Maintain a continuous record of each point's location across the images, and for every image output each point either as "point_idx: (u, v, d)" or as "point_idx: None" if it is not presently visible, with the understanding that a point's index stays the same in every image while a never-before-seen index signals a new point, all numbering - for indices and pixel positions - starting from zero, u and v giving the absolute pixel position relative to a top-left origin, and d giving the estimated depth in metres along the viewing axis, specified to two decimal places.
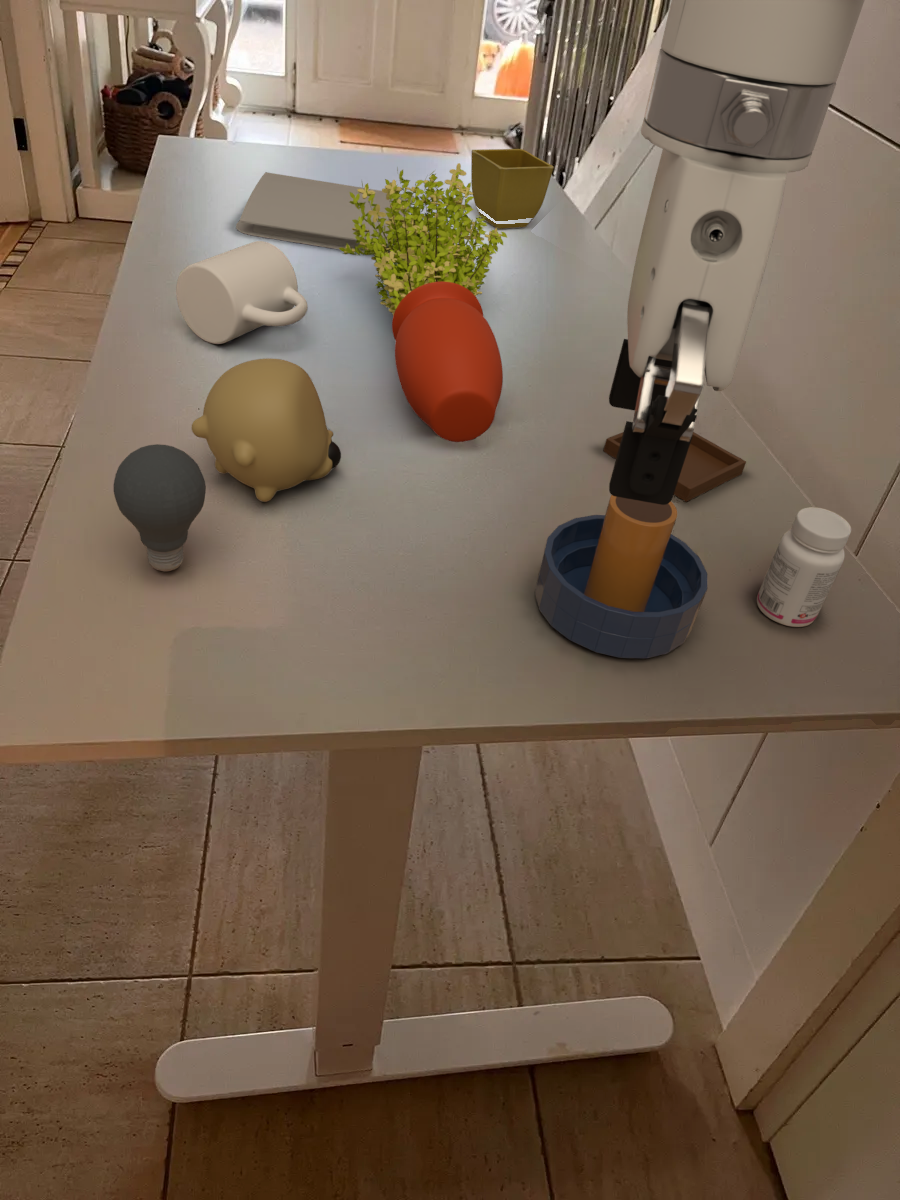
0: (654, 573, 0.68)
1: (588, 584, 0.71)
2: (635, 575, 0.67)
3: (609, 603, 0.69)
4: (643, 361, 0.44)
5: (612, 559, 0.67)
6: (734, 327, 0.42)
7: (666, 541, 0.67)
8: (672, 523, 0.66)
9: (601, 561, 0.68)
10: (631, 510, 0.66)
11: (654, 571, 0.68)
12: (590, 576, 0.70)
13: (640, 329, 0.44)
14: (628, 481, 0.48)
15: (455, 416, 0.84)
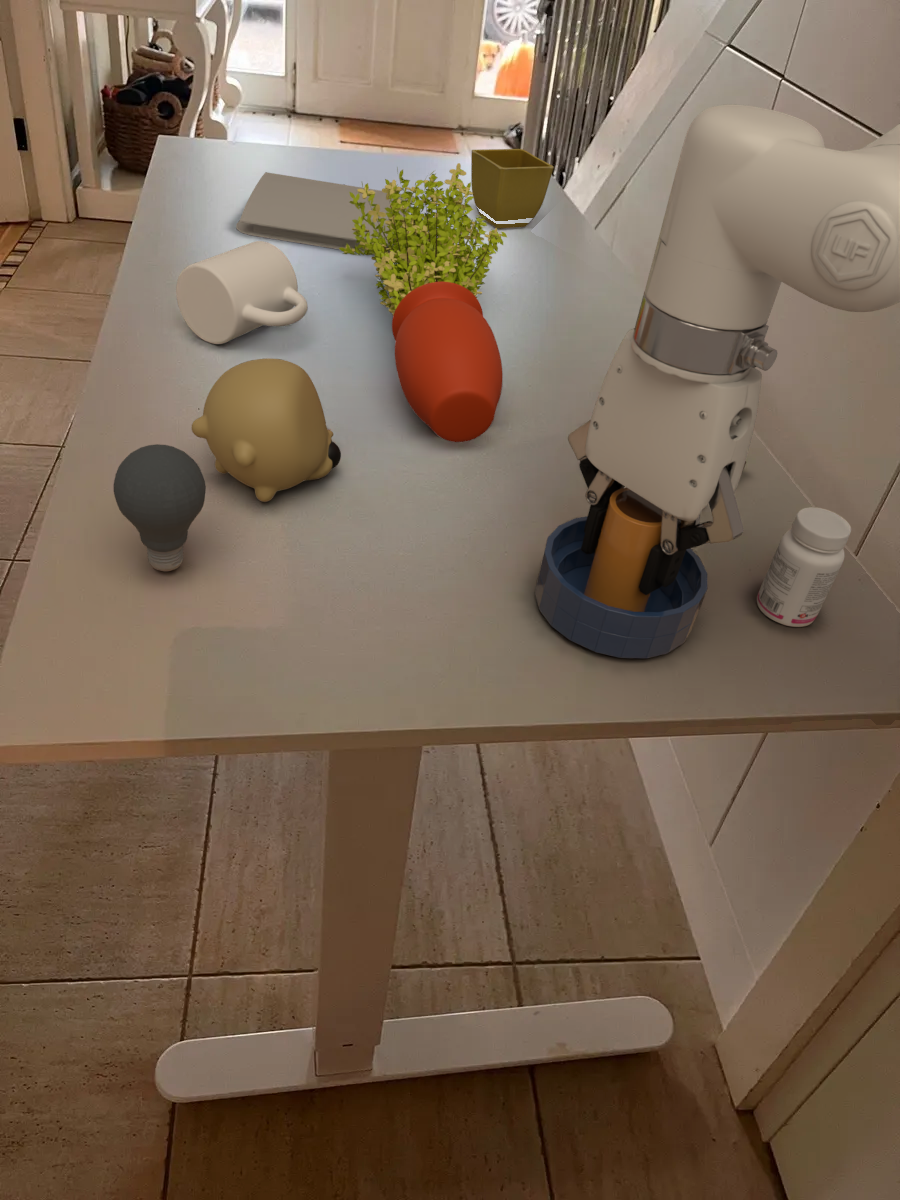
0: None
1: (588, 584, 0.71)
2: (635, 575, 0.67)
3: (609, 603, 0.69)
4: (699, 512, 0.61)
5: (612, 559, 0.67)
6: (742, 467, 0.62)
7: None
8: None
9: (601, 561, 0.68)
10: (631, 510, 0.66)
11: None
12: (590, 576, 0.70)
13: (694, 494, 0.60)
14: (654, 581, 0.67)
15: (455, 416, 0.84)
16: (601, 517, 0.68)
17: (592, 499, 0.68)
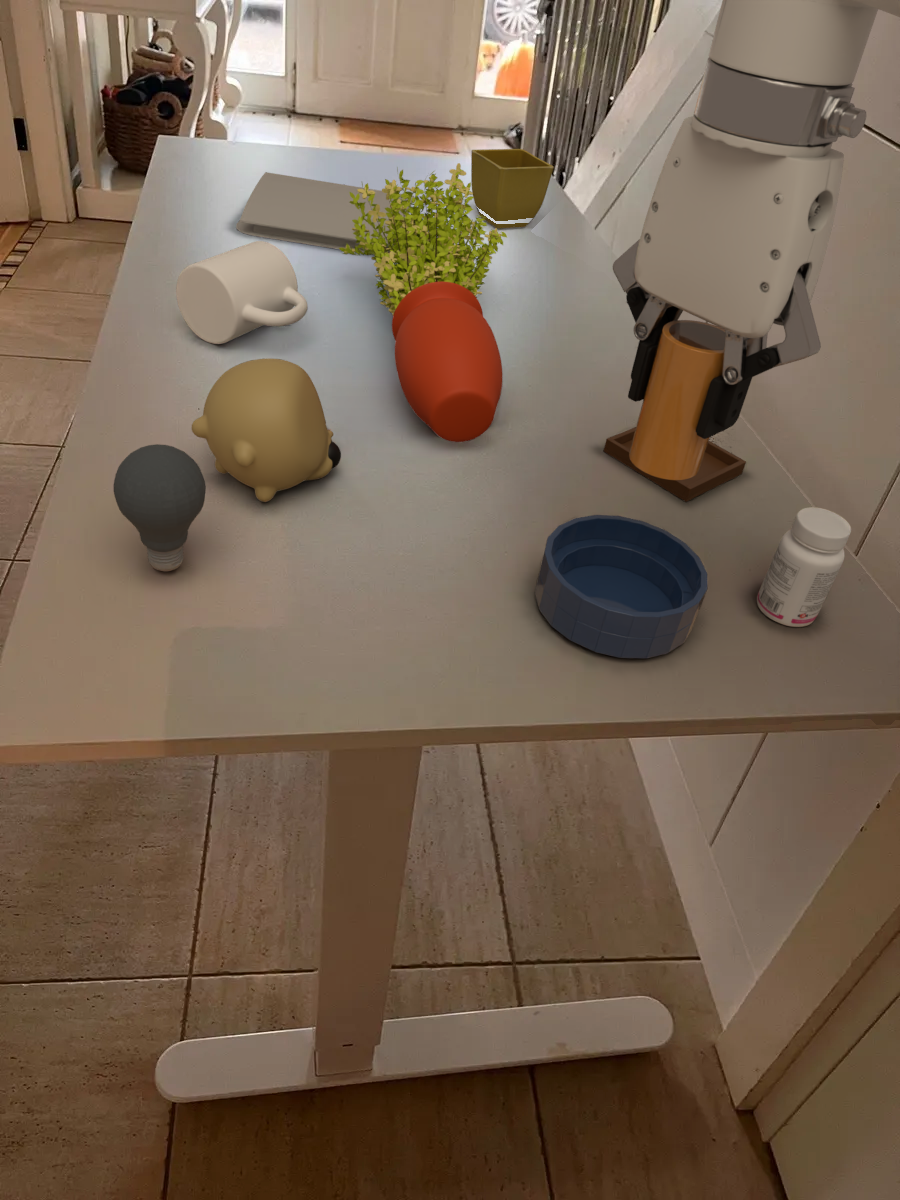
0: None
1: (636, 436, 0.63)
2: (691, 417, 0.60)
3: (662, 454, 0.62)
4: (770, 324, 0.53)
5: (665, 399, 0.60)
6: (817, 273, 0.54)
7: None
8: None
9: (652, 403, 0.61)
10: (687, 339, 0.58)
11: None
12: (639, 426, 0.63)
13: (766, 301, 0.53)
14: (713, 423, 0.60)
15: (455, 416, 0.84)
16: (652, 354, 0.61)
17: (641, 334, 0.60)
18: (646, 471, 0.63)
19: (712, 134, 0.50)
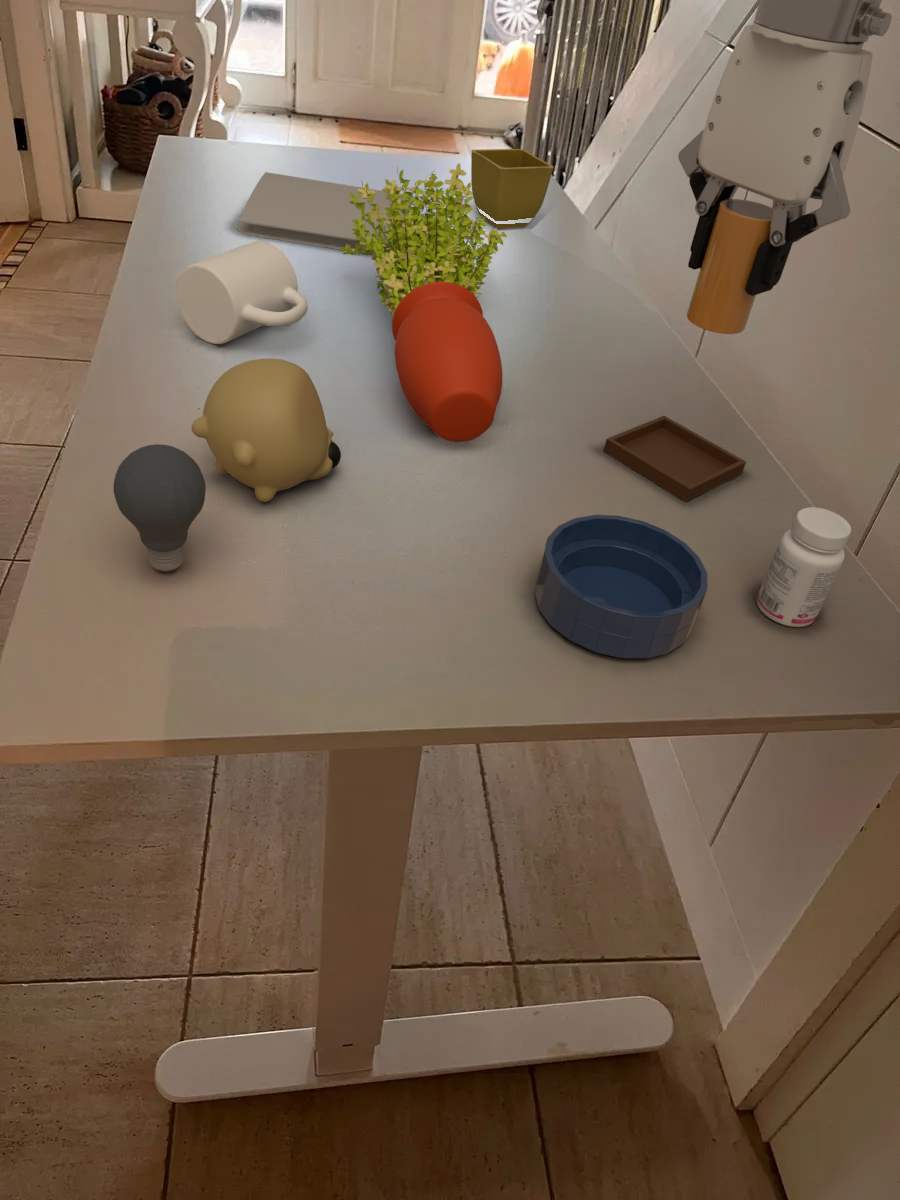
0: None
1: (694, 298, 0.77)
2: (742, 277, 0.73)
3: (716, 311, 0.75)
4: (810, 192, 0.67)
5: (721, 262, 0.73)
6: (848, 153, 0.68)
7: None
8: None
9: (710, 267, 0.74)
10: (740, 210, 0.72)
11: None
12: (697, 289, 0.76)
13: (808, 171, 0.66)
14: (760, 282, 0.73)
15: (455, 416, 0.84)
16: (710, 227, 0.74)
17: (701, 210, 0.74)
18: (702, 326, 0.77)
19: (770, 34, 0.63)
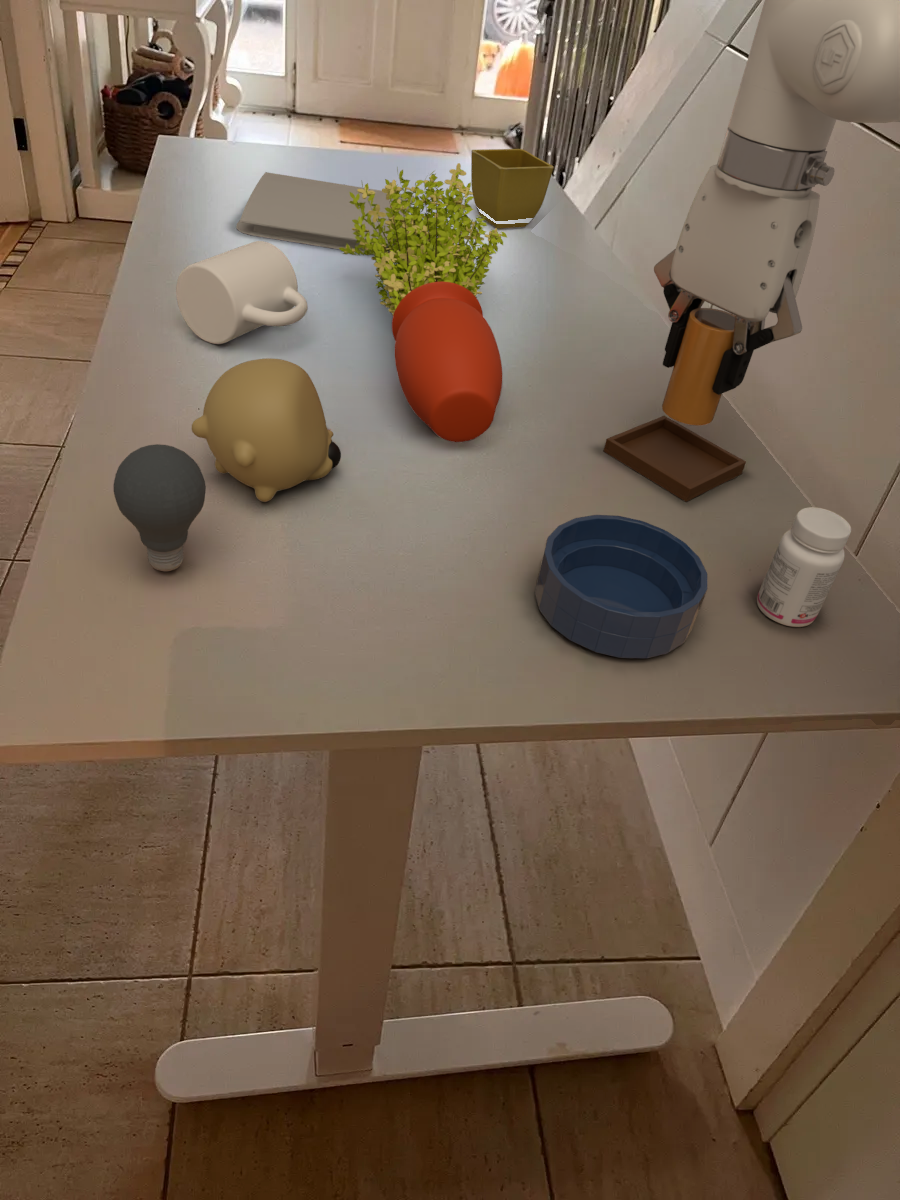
0: None
1: (668, 392, 0.86)
2: (709, 378, 0.83)
3: (687, 406, 0.85)
4: (767, 312, 0.76)
5: (691, 365, 0.83)
6: (801, 277, 0.77)
7: None
8: None
9: (681, 368, 0.84)
10: (708, 321, 0.81)
11: None
12: (670, 385, 0.86)
13: (764, 295, 0.76)
14: (725, 383, 0.83)
15: (454, 416, 0.84)
16: (681, 333, 0.84)
17: (674, 317, 0.83)
18: (675, 418, 0.86)
19: (729, 180, 0.73)
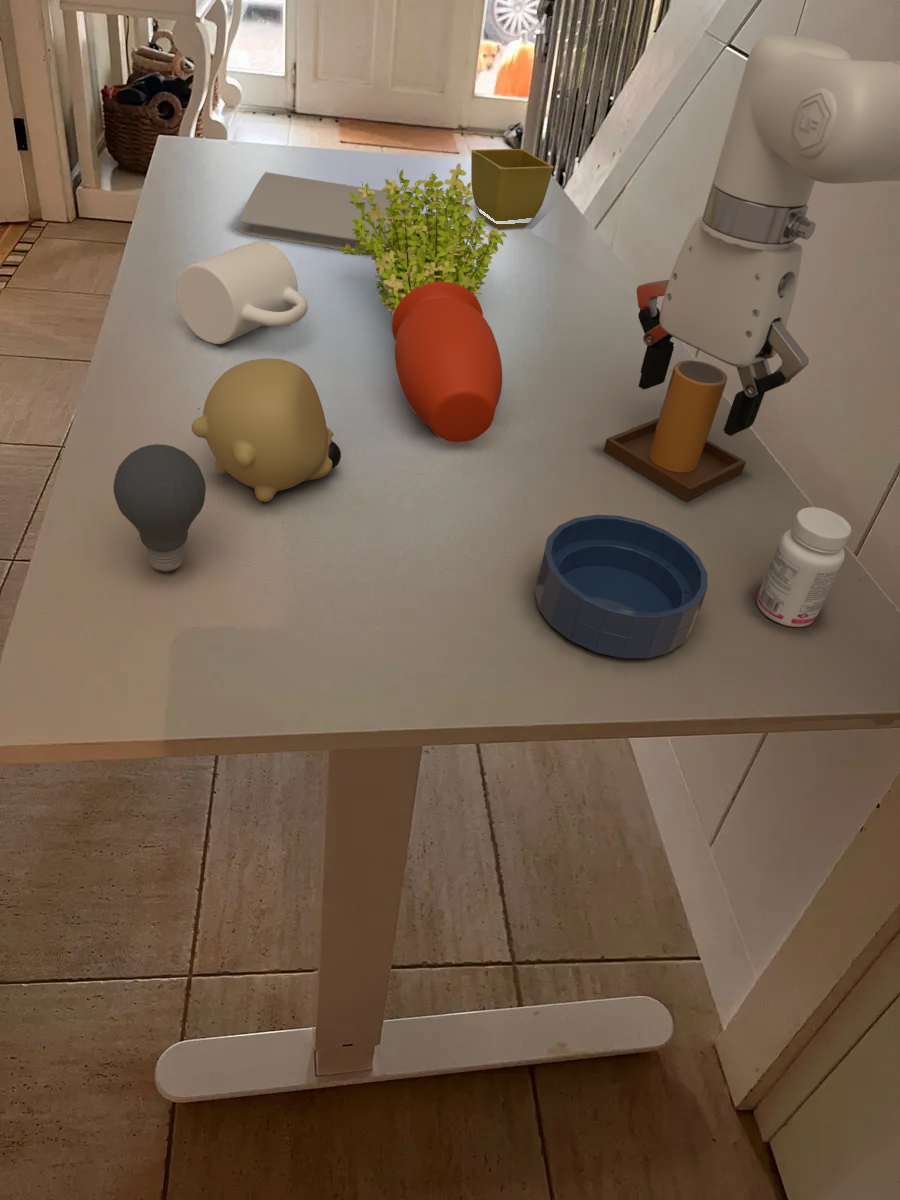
0: (708, 427, 0.86)
1: (654, 441, 0.89)
2: (693, 428, 0.86)
3: (672, 454, 0.88)
4: (752, 358, 0.79)
5: (675, 416, 0.86)
6: (785, 324, 0.79)
7: (718, 400, 0.85)
8: (723, 384, 0.84)
9: (666, 418, 0.87)
10: (691, 374, 0.84)
11: (708, 426, 0.86)
12: (656, 434, 0.89)
13: (749, 343, 0.78)
14: (736, 424, 0.83)
15: (454, 416, 0.84)
16: (656, 356, 0.86)
17: (648, 341, 0.86)
18: (660, 466, 0.89)
19: (714, 234, 0.75)
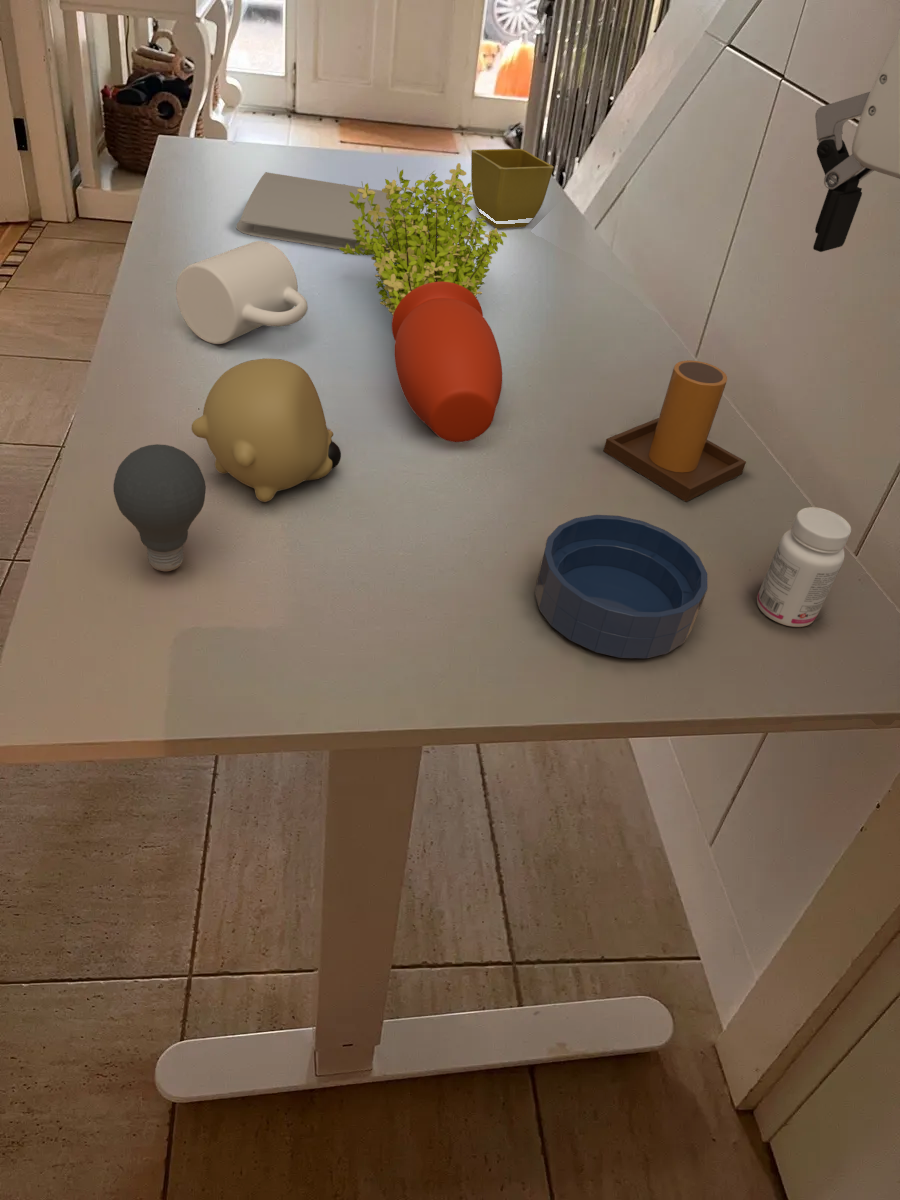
0: (708, 427, 0.86)
1: (654, 441, 0.89)
2: (693, 428, 0.86)
3: (672, 454, 0.88)
4: None
5: (675, 416, 0.86)
6: None
7: (718, 400, 0.85)
8: (723, 384, 0.84)
9: (666, 418, 0.87)
10: (691, 374, 0.84)
11: (708, 426, 0.86)
12: (656, 434, 0.89)
13: None
14: None
15: (454, 416, 0.84)
16: (841, 202, 0.65)
17: (831, 182, 0.65)
18: (660, 466, 0.89)
19: None
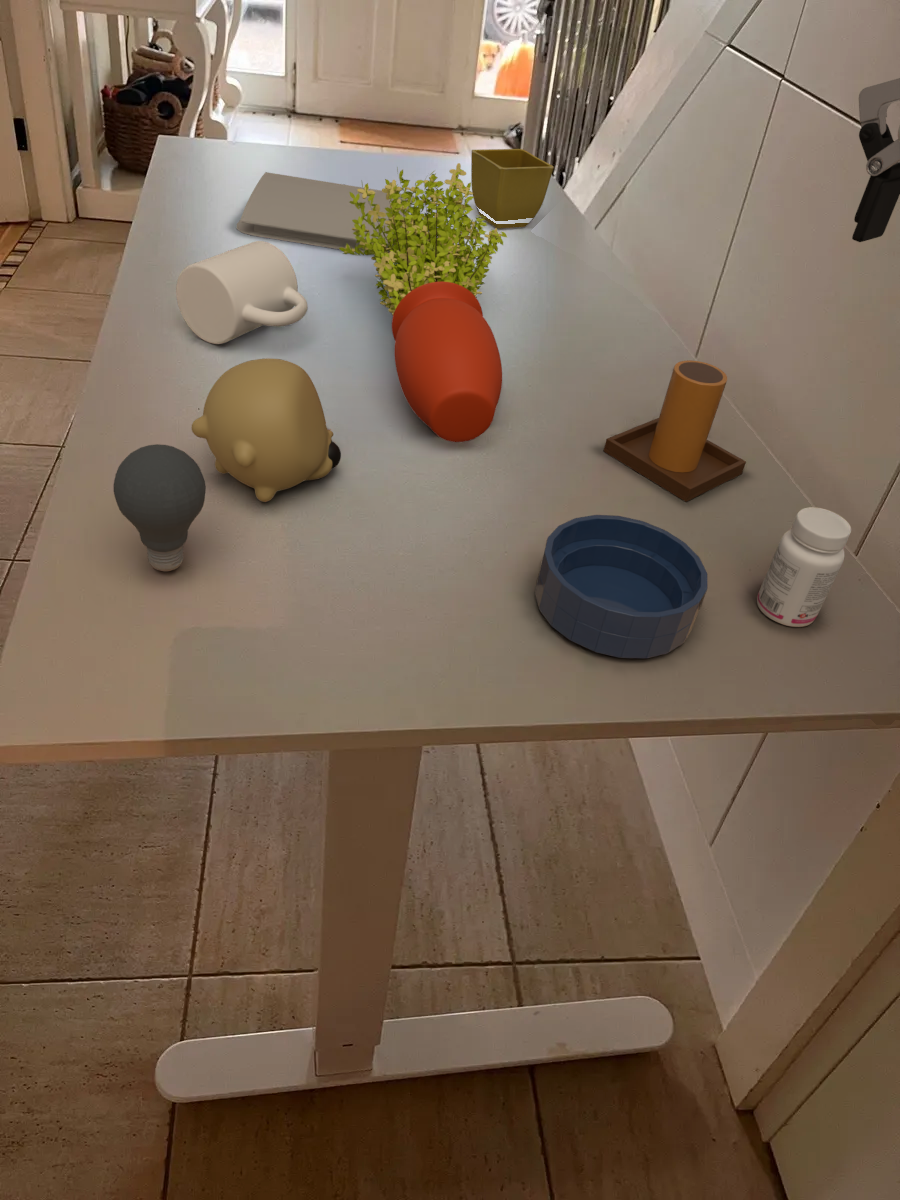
0: (708, 427, 0.86)
1: (654, 441, 0.89)
2: (693, 428, 0.86)
3: (672, 454, 0.88)
4: None
5: (675, 416, 0.86)
6: None
7: (718, 400, 0.85)
8: (723, 384, 0.84)
9: (666, 418, 0.87)
10: (691, 374, 0.84)
11: (708, 426, 0.86)
12: (656, 434, 0.89)
13: None
14: None
15: (454, 416, 0.84)
16: (884, 190, 0.61)
17: (873, 169, 0.61)
18: (660, 466, 0.89)
19: None
